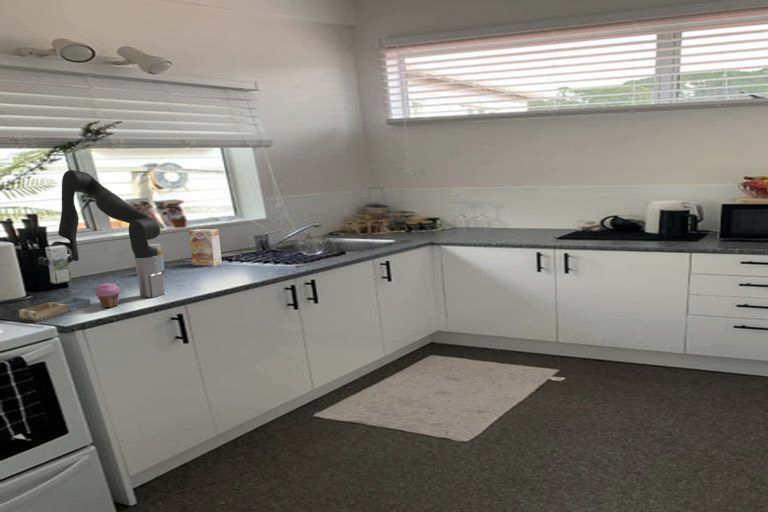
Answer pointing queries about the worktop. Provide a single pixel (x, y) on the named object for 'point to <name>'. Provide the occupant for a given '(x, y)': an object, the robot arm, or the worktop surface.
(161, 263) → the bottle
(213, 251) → the coffeecake box
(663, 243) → the worktop surface
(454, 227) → the worktop surface
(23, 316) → the tray
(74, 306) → the blue-grey shallow square dish
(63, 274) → the syrup box
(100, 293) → the cupcake
